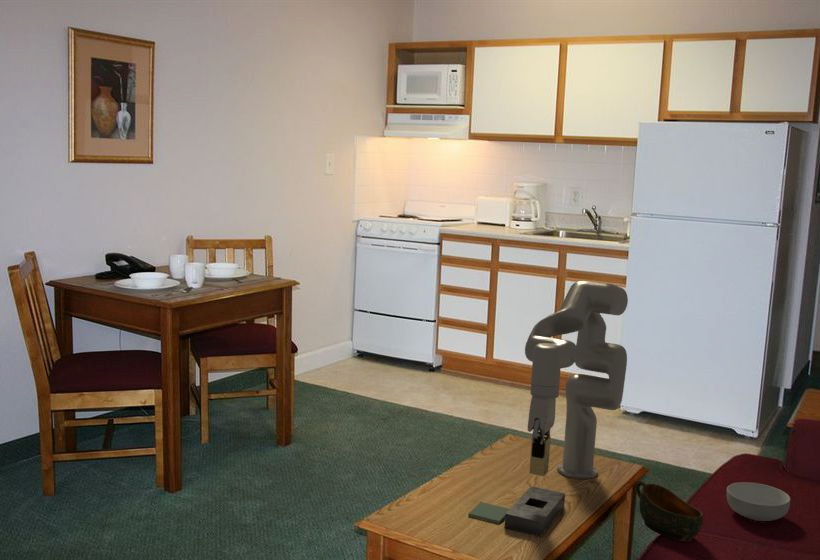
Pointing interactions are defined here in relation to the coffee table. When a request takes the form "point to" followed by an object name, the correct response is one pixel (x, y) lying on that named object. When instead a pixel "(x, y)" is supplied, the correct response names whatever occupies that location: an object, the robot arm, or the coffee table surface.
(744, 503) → the cereal bowl
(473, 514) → the green mat
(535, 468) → the brass plug
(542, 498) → the dark square-hole plate
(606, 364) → the robot arm
